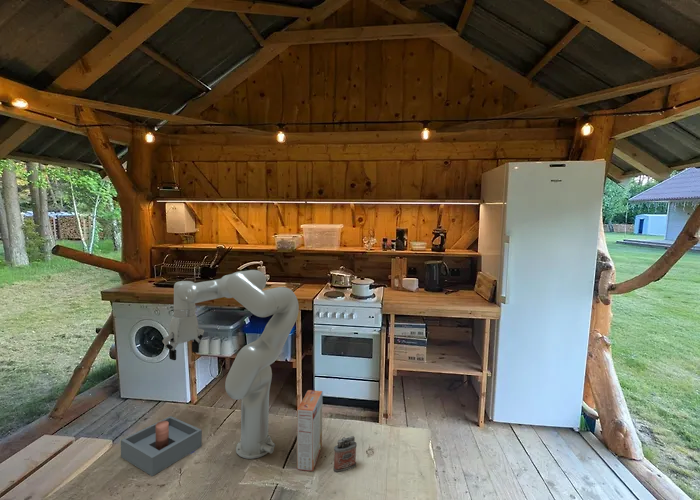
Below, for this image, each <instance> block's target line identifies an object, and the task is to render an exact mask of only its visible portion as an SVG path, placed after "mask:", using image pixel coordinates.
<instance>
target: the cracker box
mask: <svg viewBox="0 0 700 500" xmlns="http://www.w3.org/2000/svg"><path fill="white" fill-rule="evenodd" d="M323 392H324V391H322V390H313V389H308V390H307V391H306V393H305V395H304V397H303V398H302V400H301V402H300V404H299V405H298V406H297V411H296V423H297V424H296V426H297V427H296V429H297V430H296V470H297V469H298V470H299V471H307V472H308V471H309V472H314V471H315V470H314V469H315V467H316V464H317V461H318V459H319V455H320V452H321V449H322V447H323V398H324V397H323V395H324V394H323Z"/></svg>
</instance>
